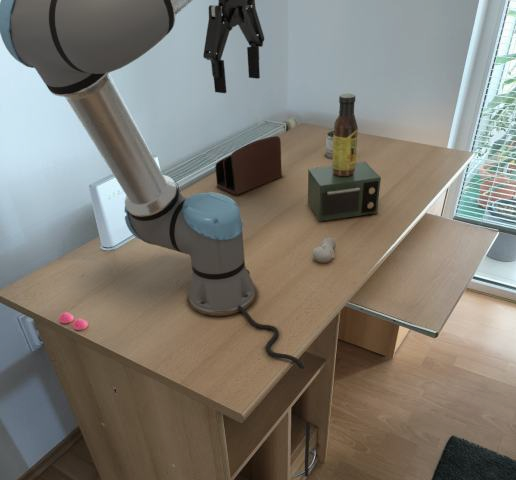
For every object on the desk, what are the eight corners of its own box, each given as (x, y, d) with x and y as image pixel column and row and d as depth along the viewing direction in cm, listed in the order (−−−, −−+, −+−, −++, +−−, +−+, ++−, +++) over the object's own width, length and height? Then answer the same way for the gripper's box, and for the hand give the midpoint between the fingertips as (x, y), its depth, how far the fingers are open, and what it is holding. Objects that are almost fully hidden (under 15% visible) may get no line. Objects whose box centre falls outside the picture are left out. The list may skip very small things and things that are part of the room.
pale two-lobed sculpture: (324, 270, 126) (307, 260, 127) (339, 255, 131) (322, 245, 132) (330, 257, 123) (312, 247, 124) (344, 242, 127) (327, 232, 128)
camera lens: (325, 152, 182) (326, 129, 177) (343, 152, 182) (344, 129, 176) (325, 158, 178) (326, 135, 173) (343, 158, 177) (344, 135, 172)
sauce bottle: (354, 178, 138) (359, 99, 125) (330, 177, 139) (333, 99, 126) (355, 168, 142) (360, 92, 129) (333, 168, 143) (336, 92, 131)
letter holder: (282, 176, 168) (281, 133, 159) (236, 196, 158) (232, 150, 149) (262, 169, 174) (260, 126, 165) (216, 187, 164) (211, 143, 155)
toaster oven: (380, 218, 142) (384, 180, 135) (321, 227, 140) (322, 189, 133) (362, 197, 153) (365, 161, 146) (307, 205, 151) (308, 168, 144)
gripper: (207, -20, 96) (218, 100, 110) (277, -34, 111) (279, 73, 125) (177, -20, 99) (192, 97, 113) (249, -34, 115) (254, 71, 128)
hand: (238, 85), depth 119 cm, fingers open, 13 cm apart
